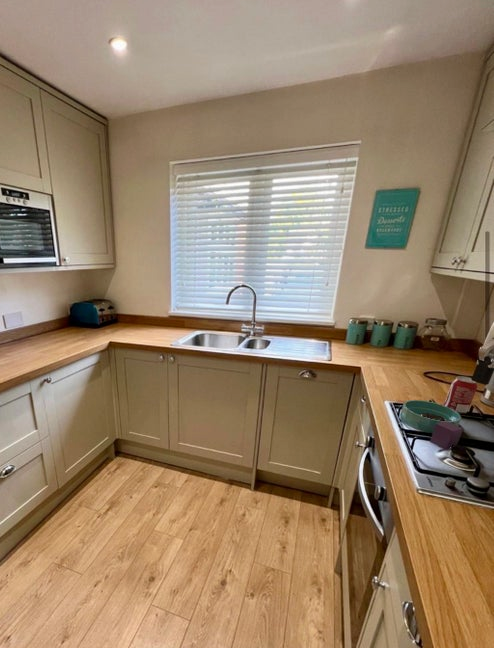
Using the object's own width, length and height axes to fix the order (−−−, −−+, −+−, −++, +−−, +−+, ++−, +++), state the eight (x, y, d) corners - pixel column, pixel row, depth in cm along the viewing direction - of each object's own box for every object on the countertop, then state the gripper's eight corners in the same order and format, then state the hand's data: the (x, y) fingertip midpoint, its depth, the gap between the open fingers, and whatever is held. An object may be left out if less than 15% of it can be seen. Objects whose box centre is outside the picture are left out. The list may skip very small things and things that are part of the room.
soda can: (469, 416, 112) (483, 384, 107) (446, 413, 114) (458, 381, 110) (462, 408, 118) (474, 377, 113) (440, 405, 120) (451, 374, 115)
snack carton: (439, 440, 98) (446, 421, 95) (455, 448, 94) (463, 428, 91) (429, 443, 96) (436, 423, 94) (445, 451, 92) (453, 431, 90)
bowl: (439, 415, 112) (443, 402, 111) (466, 438, 99) (472, 424, 97) (391, 411, 115) (395, 398, 113) (412, 433, 101) (417, 419, 99)
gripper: (521, 310, 64) (488, 391, 70) (569, 306, 69) (534, 381, 76) (478, 304, 70) (451, 378, 77) (525, 301, 76) (496, 370, 83)
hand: (492, 380), depth 76 cm, fingers open, 9 cm apart
